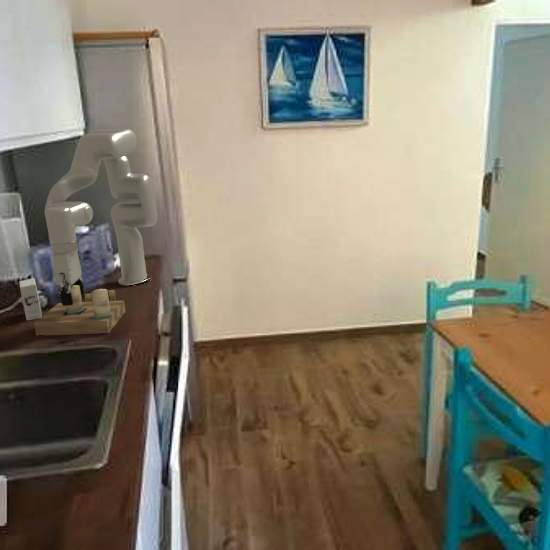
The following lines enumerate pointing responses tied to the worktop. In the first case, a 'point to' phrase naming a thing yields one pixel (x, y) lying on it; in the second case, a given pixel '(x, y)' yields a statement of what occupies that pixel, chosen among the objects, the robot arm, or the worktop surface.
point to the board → (82, 317)
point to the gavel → (110, 293)
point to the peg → (75, 301)
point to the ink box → (30, 299)
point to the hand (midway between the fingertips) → (73, 299)
